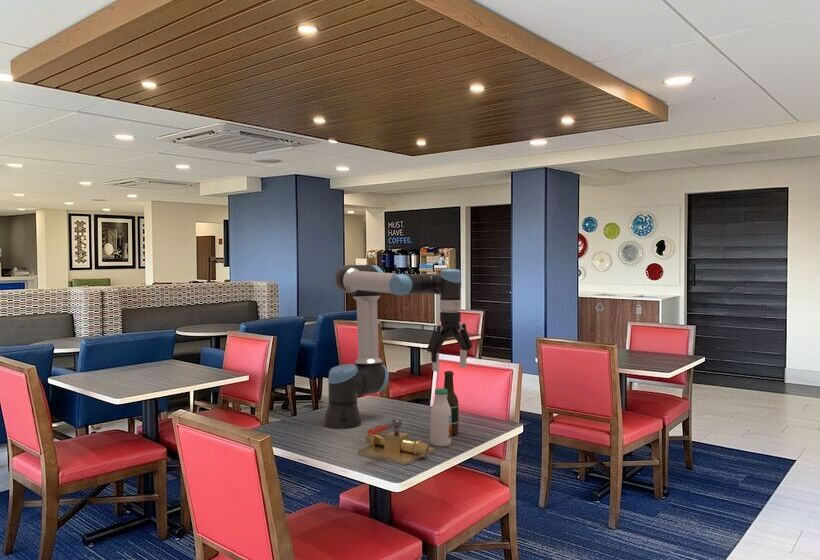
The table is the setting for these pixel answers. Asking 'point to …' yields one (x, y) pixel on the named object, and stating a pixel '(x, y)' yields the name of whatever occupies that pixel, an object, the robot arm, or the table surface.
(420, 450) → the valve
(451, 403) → the beer bottle
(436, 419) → the milk bottle
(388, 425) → the lever
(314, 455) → the table surface
